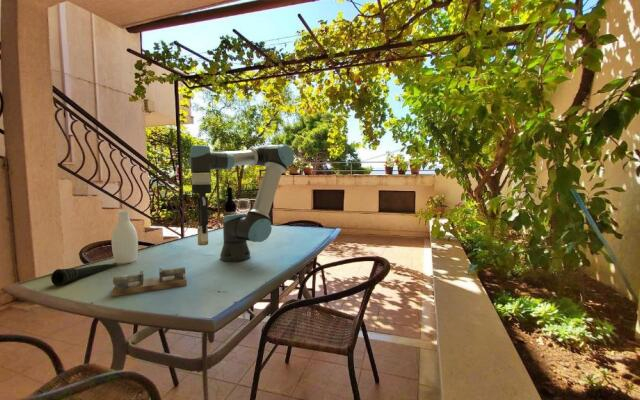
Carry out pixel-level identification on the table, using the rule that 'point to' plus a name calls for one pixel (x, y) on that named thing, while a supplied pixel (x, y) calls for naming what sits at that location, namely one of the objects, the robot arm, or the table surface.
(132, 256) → the bottle
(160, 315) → the table surface
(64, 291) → the table surface
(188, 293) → the table surface
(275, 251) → the table surface
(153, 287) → the double roll holder
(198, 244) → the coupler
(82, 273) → the tool
